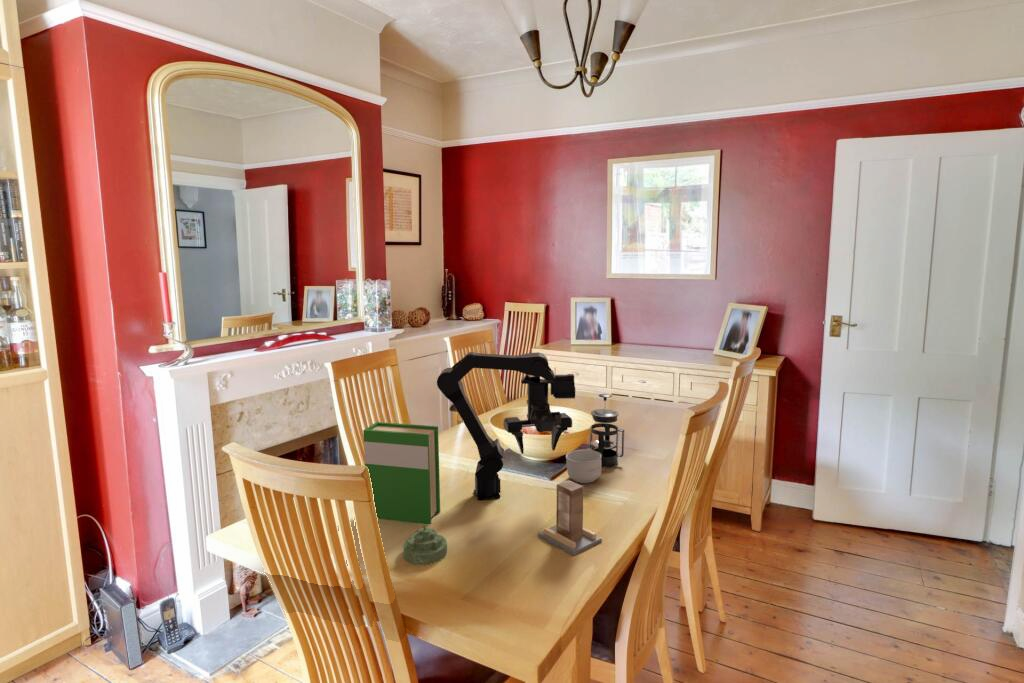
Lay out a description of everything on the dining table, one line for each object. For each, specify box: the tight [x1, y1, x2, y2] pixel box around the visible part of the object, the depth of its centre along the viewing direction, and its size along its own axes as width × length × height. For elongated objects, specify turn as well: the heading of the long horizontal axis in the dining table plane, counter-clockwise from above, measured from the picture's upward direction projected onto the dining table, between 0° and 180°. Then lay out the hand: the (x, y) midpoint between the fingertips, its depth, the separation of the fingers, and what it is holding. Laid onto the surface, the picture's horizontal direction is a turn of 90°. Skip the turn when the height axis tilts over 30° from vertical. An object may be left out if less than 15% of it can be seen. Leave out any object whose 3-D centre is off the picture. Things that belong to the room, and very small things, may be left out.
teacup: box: [565, 447, 603, 484], centre depth 179 cm, size 14×11×8 cm
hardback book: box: [362, 421, 441, 525], centre depth 154 cm, size 18×7×24 cm, turn 76°
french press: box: [589, 393, 625, 468], centre depth 191 cm, size 12×9×23 cm
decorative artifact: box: [402, 524, 448, 566], centre depth 136 cm, size 10×7×10 cm
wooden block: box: [555, 479, 584, 541], centre depth 142 cm, size 5×4×13 cm
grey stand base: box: [537, 524, 603, 556], centre depth 143 cm, size 12×10×2 cm
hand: (537, 451), depth 166 cm, fingers open, 9 cm apart
